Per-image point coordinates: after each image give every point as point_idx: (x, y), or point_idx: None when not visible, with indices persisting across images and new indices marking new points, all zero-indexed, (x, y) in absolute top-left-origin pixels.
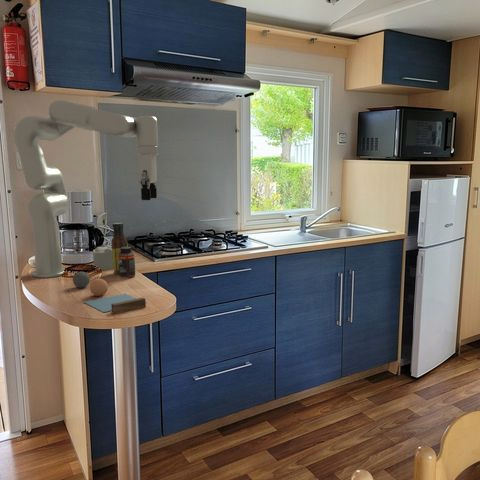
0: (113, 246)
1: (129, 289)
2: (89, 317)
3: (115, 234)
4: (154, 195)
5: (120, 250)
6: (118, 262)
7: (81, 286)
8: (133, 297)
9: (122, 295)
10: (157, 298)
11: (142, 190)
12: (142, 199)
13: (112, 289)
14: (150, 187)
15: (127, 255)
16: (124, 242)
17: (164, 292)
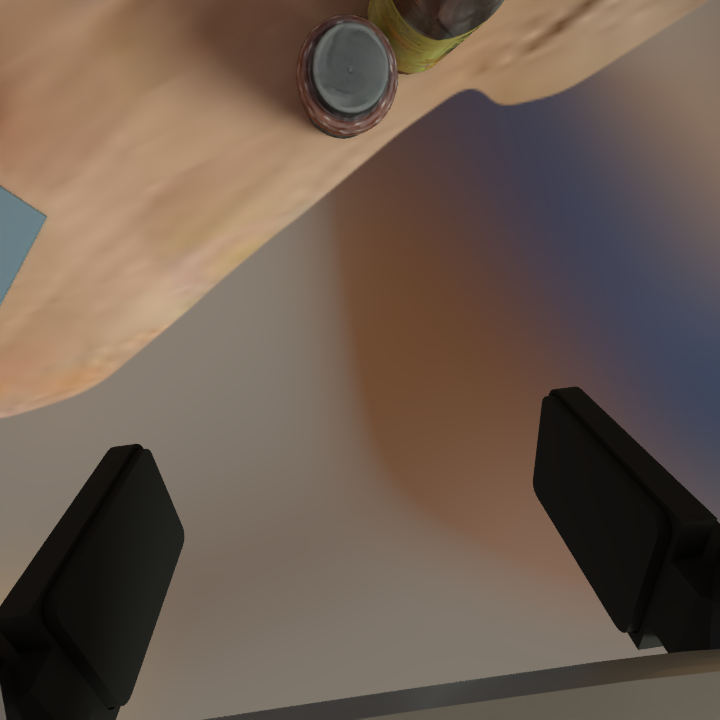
0: None
1: (122, 205)
2: None
3: None
4: (551, 499)
5: (388, 2)
6: (372, 6)
7: None
8: (11, 274)
9: (14, 219)
10: (51, 355)
11: (34, 601)
12: (118, 458)
13: (92, 123)
14: (666, 572)
15: (307, 105)
16: (425, 17)
17: (131, 352)
